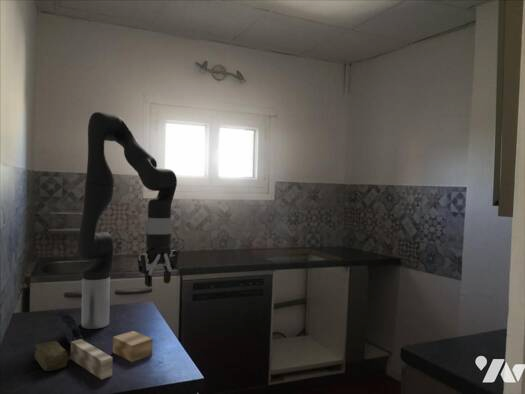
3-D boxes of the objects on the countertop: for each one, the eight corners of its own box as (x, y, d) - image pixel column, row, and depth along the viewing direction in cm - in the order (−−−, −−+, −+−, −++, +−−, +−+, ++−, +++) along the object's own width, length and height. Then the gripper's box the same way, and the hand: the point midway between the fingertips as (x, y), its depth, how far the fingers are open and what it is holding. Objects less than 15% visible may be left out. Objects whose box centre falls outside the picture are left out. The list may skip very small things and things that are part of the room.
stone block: (45, 374, 108) (45, 355, 108) (33, 360, 116) (33, 343, 116) (68, 368, 112) (68, 350, 112) (55, 355, 120) (55, 338, 120)
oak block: (112, 353, 123) (113, 336, 123) (133, 346, 128) (133, 330, 128) (131, 362, 117) (132, 345, 117) (152, 355, 122) (152, 339, 122)
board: (70, 358, 118) (70, 341, 117) (80, 355, 120) (81, 339, 120) (101, 379, 106) (101, 360, 106) (112, 375, 108) (112, 357, 108)
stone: (93, 345, 128) (93, 313, 128) (77, 351, 123) (78, 319, 122) (62, 337, 134) (62, 307, 133) (45, 343, 128) (46, 312, 128)
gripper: (170, 229, 136) (169, 279, 136) (132, 232, 125) (130, 286, 125) (184, 231, 131) (183, 283, 131) (145, 234, 120) (144, 291, 121)
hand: (157, 284), depth 128 cm, fingers open, 6 cm apart
